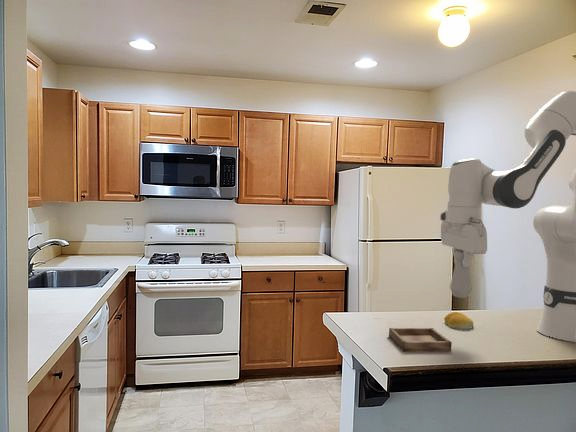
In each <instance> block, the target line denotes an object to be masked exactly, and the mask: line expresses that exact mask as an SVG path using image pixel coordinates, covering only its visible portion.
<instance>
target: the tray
mask: <svg viewBox="0 0 576 432" xmlns="http://www.w3.org/2000/svg"><path fill="white" fill-rule="evenodd" d="M388 338H390V339H391V340H392V341H393V342H394V343H395V344H396V345H397V346H398V347H399V348H400V350H402V351H403V352H452V343H453V342H452V341H451V340H449V339H448V338H447V337H446V336H444V335H443V334H442V333H440V332H439V331H437V330H436V329H435V328H433V327H389V330H388Z"/></svg>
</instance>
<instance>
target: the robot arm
mask: <svg viewBox="0 0 576 432" xmlns="http://www.w3.org/2000/svg"><path fill="white" fill-rule="evenodd" d="M570 136H576V91H575V90H565V91H563V92H560V93H559V94H558V95H556V96H555V97H554V98H552V99H551V100H549V101H548V102H547V103H546V104H545V105H544V106H542V107H541V108H540V109H539V110H538V112H537V113H535V115H534V116H532V118H530V120H529V122H528V123H527V125H526V126H525V128H524V138H525V140H526V142H527V143H528V145H529V146H530V147H531V148H532V151H531V152H530V153H529V154H528V155H527V157H526V158H525V159H524V161H523V162H522V163H521V164H520V165H519V166H518V167H516V168H513V169H508V170H495V169H493V168H490V167H489V166H487V165H485V164H484V163H483V161H481V159H479V158H476V157H475V158H474V157H473V158H467V159H466V158H465V159H459V160H457V161H455V162H453V163H452V164H451V167H450V169H449V173H448V174H449V175H448V187H447V191H448V195H449V197H448V202H447V209H446V210H444V211H443V212H441V213H440V215H439V217H440V218H439V219H440V221H442V222H441V224H440V241H441V244H442V245H443V246H447V247H449V248H452V255H453V256H454V252H455V251H458V250H463V251H464V253H463V254H464V259H463V260H462V266H463V267H469V268H470V266H471V260H472V258H473V257H474V255H485V254H487V252H488V233H487V232H488V231H487V228H486V226H485V224H484V222H483V221H482V204H484V205H489V206H500V207H506V208H509V209H521V208H523V207H525V206H527V205H528V204H529V203H530V202H531V201H532V200H533V198H534V196H535V194H536V192H537V189H538V187H539V184H540V183H541V181H542V179H544V177H545V176H546V174H547V173H548V172H549V170H550V169H551V168H552V166H553V165H554V164H555V163H556V161H557V159H558V158H559V157H560V155H561V154H562V152H563V151H564V149H565V148H566V147H565V146H566V142H567V140H568V139H569V138H570ZM569 178H570V179H569V180H568V186H569V188H570V189H569V190H571V191H572V192H573V199H572V201H571V204H570V205H561V204H560V205H557V204H556V205H549V206H544V207H542V208H540V209H539V210H538V211H537V212H536V213H535V214H534V218H533V222H532V224H533V228H534V230H535V232H536V233H537V234H538V236H540V239H541V241H542V244H543V247H544V252H545V256H546V279H545V280H546V282H545V285H544V289H543V296H542V297H543V308H542V311H541V316H540V320H539V322H538V325H537V327H536V332H538V333H539V334H542V335H544V336H547V337H549V336H550V338H552V337H553V339H556V338H557V339H556V340H561V339H562V340H561V341H567V342H572V343H576V166H575V167H574V169H573V172H572V174H571V176H570V177H569ZM453 258H454V257H453ZM453 262H454V265H455V264H456V259H455V258H454V259H453Z"/></svg>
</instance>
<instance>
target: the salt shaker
mask: <svg viewBox="0 0 576 432" xmlns="http://www.w3.org/2000/svg"><path fill="white" fill-rule="evenodd" d="M463 253H464V251H463V250H458V251H455V252H454V255H453V258H455V259H456V264H455V263H454V268H453V273H452V277H451V280H450V285H449V289H450V291H451V294H452V296H453V297H455V298H459V299H460V298H461V299H464V298H469V296H470V295H471V292H472V291H473V288H472V279H471V271H470V267H463V266H462V260H463V259H464V254H463Z"/></svg>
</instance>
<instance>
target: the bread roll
mask: <svg viewBox="0 0 576 432" xmlns="http://www.w3.org/2000/svg"><path fill="white" fill-rule="evenodd" d="M443 320H444V323H445V324H446V325H447V326H448V327H449V328H452V329H456V330H457V329H458V330H463V331H464V330H470V329H472V328H473V327H474V321H473V319H472V318H470V317H468V316H467V315H466V314H464V313H462V312H460V311H452V312H450V313H448V314H446V315H445V317H444V318H443Z"/></svg>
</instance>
